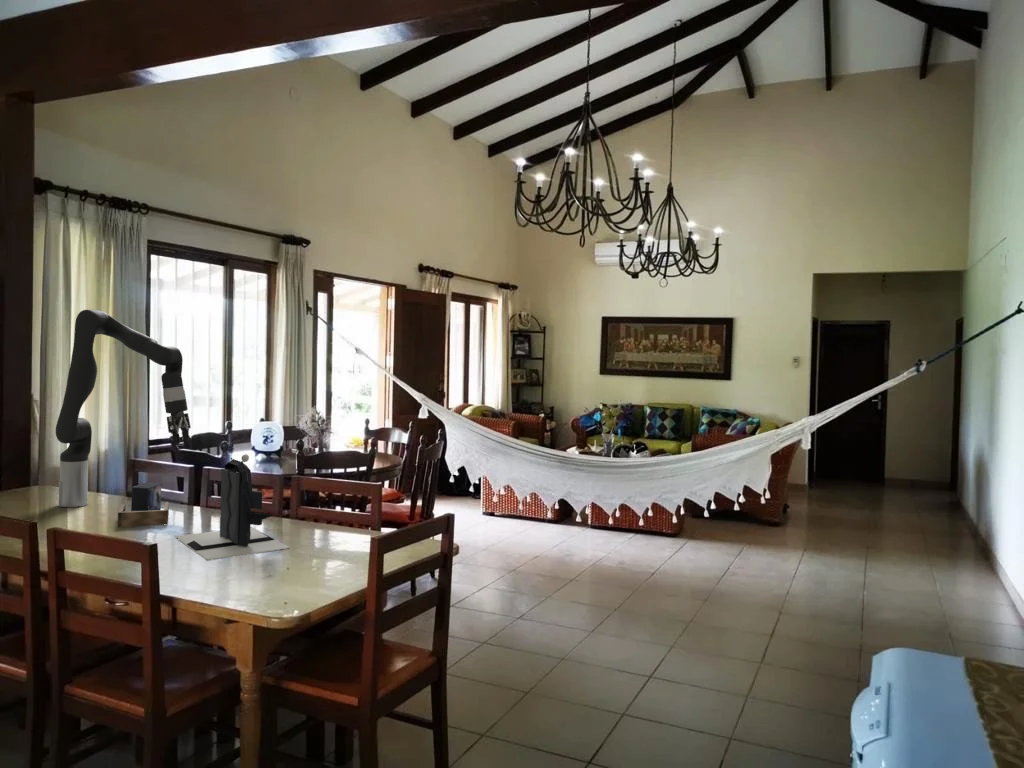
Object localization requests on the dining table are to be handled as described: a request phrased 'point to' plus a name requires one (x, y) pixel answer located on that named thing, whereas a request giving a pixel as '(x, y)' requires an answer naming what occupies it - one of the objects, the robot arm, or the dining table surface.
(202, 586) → the dining table surface
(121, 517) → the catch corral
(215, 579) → the dining table surface
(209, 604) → the dining table surface
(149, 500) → the small box
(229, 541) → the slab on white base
